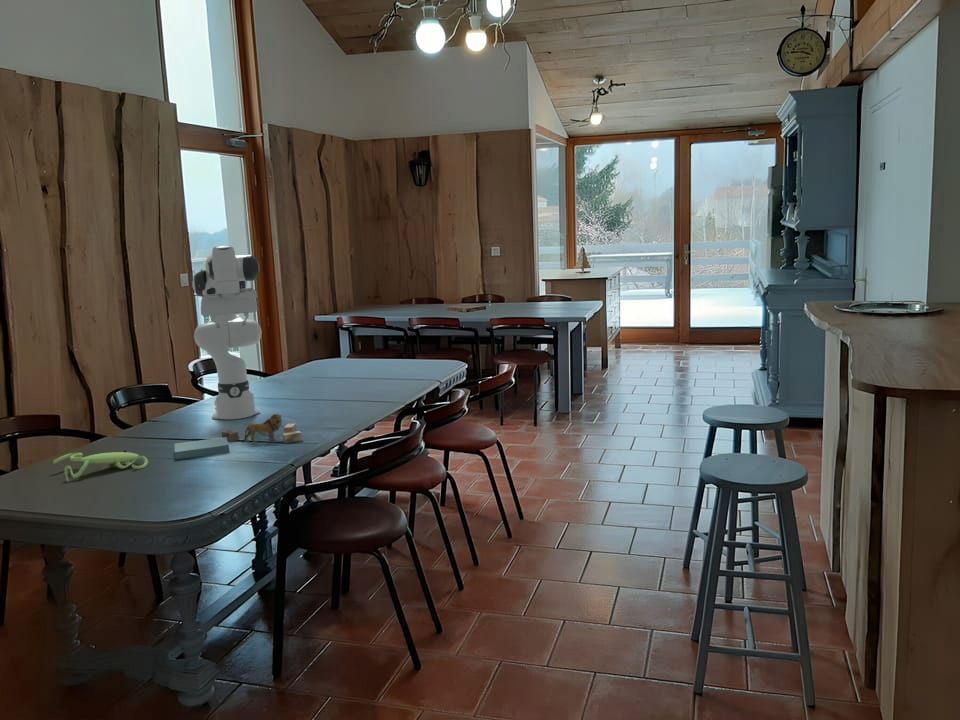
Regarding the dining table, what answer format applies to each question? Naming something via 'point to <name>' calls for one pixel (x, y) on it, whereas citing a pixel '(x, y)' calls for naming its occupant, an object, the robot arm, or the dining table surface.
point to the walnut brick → (230, 435)
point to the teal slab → (201, 448)
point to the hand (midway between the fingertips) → (231, 326)
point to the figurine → (103, 460)
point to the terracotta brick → (290, 428)
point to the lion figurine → (263, 428)
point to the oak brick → (292, 436)
